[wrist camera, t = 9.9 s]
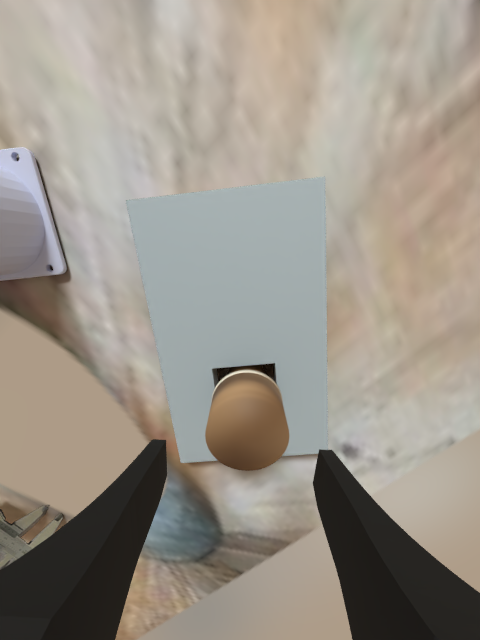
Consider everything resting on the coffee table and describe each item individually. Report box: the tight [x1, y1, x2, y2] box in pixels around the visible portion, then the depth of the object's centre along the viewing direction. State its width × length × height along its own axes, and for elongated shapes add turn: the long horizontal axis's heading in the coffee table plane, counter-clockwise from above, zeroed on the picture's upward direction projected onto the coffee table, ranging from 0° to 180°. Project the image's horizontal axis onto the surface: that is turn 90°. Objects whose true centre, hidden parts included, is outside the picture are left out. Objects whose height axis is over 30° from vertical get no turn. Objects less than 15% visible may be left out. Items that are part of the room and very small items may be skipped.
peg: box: [205, 365, 289, 470], centre depth 18 cm, size 5×5×7 cm
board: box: [126, 177, 328, 463], centre depth 19 cm, size 12×20×2 cm, turn 6°
